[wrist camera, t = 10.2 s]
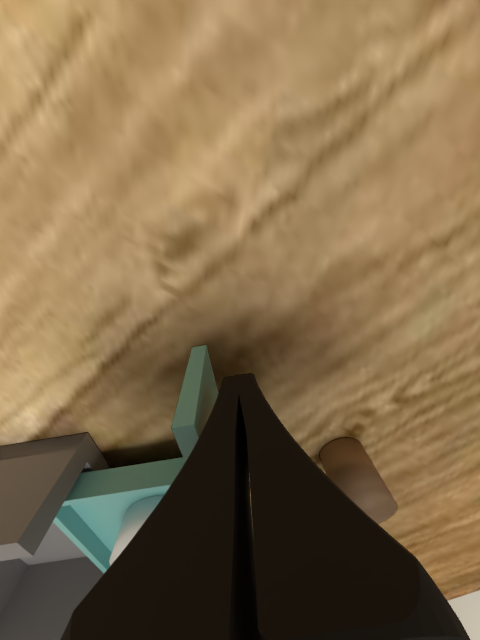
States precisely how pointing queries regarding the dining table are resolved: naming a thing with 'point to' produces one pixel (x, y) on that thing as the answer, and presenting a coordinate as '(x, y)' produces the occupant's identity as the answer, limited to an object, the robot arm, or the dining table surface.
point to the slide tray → (136, 471)
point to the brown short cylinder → (358, 478)
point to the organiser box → (41, 536)
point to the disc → (133, 523)
